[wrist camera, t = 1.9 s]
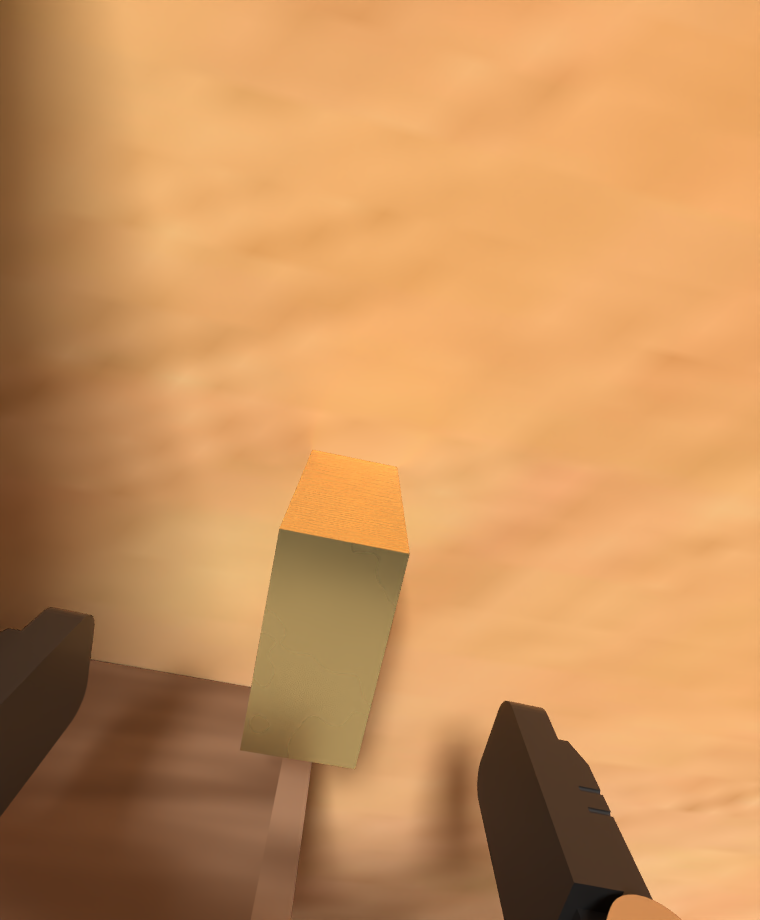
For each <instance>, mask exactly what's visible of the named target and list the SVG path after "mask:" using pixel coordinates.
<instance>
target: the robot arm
mask: <svg viewBox="0 0 760 920" xmlns="http://www.w3.org/2000/svg"><path fill="white" fill-rule="evenodd" d="M93 633H94V618H93V616H92V615H88V614H83V613H78V612H73V611H68V610H63V609H58V608H53V607H50V608H47V609H46V610H44V611H43V612H42V613H41V614H40V615H39V616H37V617H36V618H35V619H34V620H33V621H32V622H31V623H30V624H28V625H27V626H26V627H25V628H24V629H23V630H22V631H19V630H14V629H6V630H4V631H2V632H0V817H1V815H2V814H3V813H4V811H5V810H6V809H7V807H8V806H9V805H10V803H11V802H12V801H13V799H14V798H15V797H16V795H17V794H18V793H19V791H20V790H21V789H22V787H23V786H24V785H25V783H26V782H27V781H28V779H29V778H30V777H31V775H32V774H33V773H34V771H35V770H36V769H37V767H38V766H39V765H40V763H41V762H42V761H43V759H44V758H45V757H46V755H47V754H48V753H49V751H50V750H51V749H52V747H53V746H54V745H55V743H56V742H57V741H58V739H59V738H60V736H61V735H62V734H63V732H64V731H65V730H66V728H67V727H68V726H69V724H70V723H71V722H72V720H73V719H74V717H75V715H76V714H77V712H78V710H79V708H80V706H81V703H82V701H83V698H84V695H85V692H86V688H87V682H88V674H89V666H90V658H91V650H92V642H93ZM477 791H478V800H479V805H480V809H481V814H482V819H483V823H484V828H485V833H486V837H487V842H488V847H489V851H490V856H491V860H492V865H493V870H494V874H495V879H496V884H497V888H498V893H499V898H500V902H501V907H502V911H503V916H504V920H681V919H680V918H679V917H678V916H677V915H675V914H674V913H673V912H672V911H670V910H669V909H668V908H666V907H664V906H663V905H661V904H660V903H658V902H656V901H654V900H653V899H652V897H651V895H650V893H649V891H648V889H647V887H646V885H645V883H644V880H643V878H642V876H641V874H640V872H639V870H638V868H637V866H636V864H635V862H634V860H633V857H632V855H631V853H630V851H629V849H628V847H627V845H626V843H625V841H624V839H623V837H622V834H621V832H620V830H619V828H618V826H617V824H616V822H615V820H614V818H613V817H611V816H610V812H611V811H610V809H609V807H608V805H607V803H606V801H605V799H604V797H603V795H600V788H599V786H598V784H597V782H596V780H595V778H594V776H593V774H592V772H591V770H590V767H589V765H588V764H587V763H586V762H585V760H584V759H583V758H582V757H581V756H580V755H579V754H578V752H577V751H576V750H575V749H574V748H573V747H572V746H571V744H570V743H569V742H568V741H564V740H559V739H558V738H557V736H556V733H555V731H554V729H553V727H552V724H551V722H550V720H549V717H548V715H547V713H546V711H545V710H544V709H543V708H539V707H534V706H530V705H525V704H520V703H515V702H510V701H504V702H503V703H502V704H501V706H500V708H499V710H498V713H497V716H496V719H495V722H494V725H493V728H492V730H491V733H490V736H489V739H488V742H487V745H486V748H485V750H484V753H483V756H482V759H481V762H480V766H479V771H478V781H477Z"/></svg>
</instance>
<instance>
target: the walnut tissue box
mask: <svg viewBox="0 0 760 920" xmlns="http://www.w3.org/2000/svg"><path fill="white" fill-rule="evenodd" d="M250 691H251V687H247V686H241V685H235V684H229V683H223V682H217V681H212V680H206V679H200V678H194V677H188V676H183V675H177V674H171V673H165V672H159V671H153V670H148V669H142V668H136V667H130V666H124V665H118V664H113V663H107V662H101V661H95V660H90V666H89V674H88V682H87V688H86V692H85V695H84V698H83V701H82V703H81V706H80V708H79V710H78V712H77V714H76V715H75V717H74V719H73V720H72V722H71V723H70V724H69V726H68V727H67V728H66V730H65V731H64V732H63V734H62V735H61V736H60V738H59V739H58V741H57V742H56V743H55V745H54V746H53V747H52V749H51V750H50V751H49V753H48V754H47V755H46V757H45V758H44V759H43V761H42V762H41V763H40V765H39V766H38V767H37V769H36V770H35V771H34V773H33V774H32V775H31V777H30V778H29V779H28V781H27V782H26V783H25V785H24V786H23V787H22V789H21V790H20V791H19V793H18V794H17V795H16V797H15V798H14V799H13V801H12V802H11V803H10V805H9V806H8V807H7V809H6V810H5V811H4V813H3V814H2V815H1V817H0V920H291V915H292V907H293V900H294V892H295V885H296V877H297V870H298V862H299V855H300V847H301V840H302V832H303V825H304V818H305V810H306V803H307V795H308V788H309V780H310V773H311V765H312V762H308V761H302V760H296V759H289V758H283V757H277V756H271V755H265V754H259V753H253V752H247V751H241V750H240V747H241V741H242V736H243V730H244V725H245V719H246V713H247V708H248V702H249V697H250Z"/></svg>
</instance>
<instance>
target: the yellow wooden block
mask: <svg viewBox="0 0 760 920" xmlns="http://www.w3.org/2000/svg"><path fill="white" fill-rule="evenodd" d="M409 554H410V553H409V546H408V539H407V532H406V525H405V518H404V511H403V504H402V497H401V490H400V483H399V476H398V469H397V467H394V466H390V465H385V464H380V463H375V462H370V461H365V460H360V459H355V458H350V457H345V456H341V455H336V454H331V453H326V452H321V451H316V450H312V452H311V455H310V457H309V459H308V462H307V464H306V467H305V469H304V471H303V474H302V476H301V479H300V481H299V483H298V486H297V488H296V490H295V493H294V495H293V498H292V500H291V502H290V505H289V507H288V509H287V512H286V514H285V517H284V519H283V521H282V524H281V526H280V528H279V534H278V540H277V545H276V551H275V556H274V562H273V568H272V573H271V579H270V584H269V590H268V596H267V601H266V607H265V612H264V618H263V624H262V629H261V635H260V640H259V646H258V652H257V657H256V663H255V668H254V674H253V680H252V685H251V691H250V697H249V702H248V708H247V713H246V719H245V725H244V730H243V736H242V741H241V747H240V750H241V751H247V752H253V753H259V754H265V755H271V756H277V757H283V758H289V759H296V760H302V761H308V762H314V763H320V764H326V765H332V766H338V767H344V768H350V769H355V768H356V764H357V760H358V756H359V752H360V748H361V744H362V740H363V736H364V732H365V728H366V724H367V720H368V716H369V712H370V708H371V704H372V700H373V696H374V692H375V688H376V685H377V681H378V677H379V673H380V669H381V665H382V661H383V657H384V653H385V649H386V645H387V641H388V637H389V633H390V629H391V625H392V621H393V617H394V613H395V609H396V605H397V601H398V597H399V594H400V590H401V586H402V582H403V578H404V574H405V570H406V566H407V562H408V558H409Z"/></svg>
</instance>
